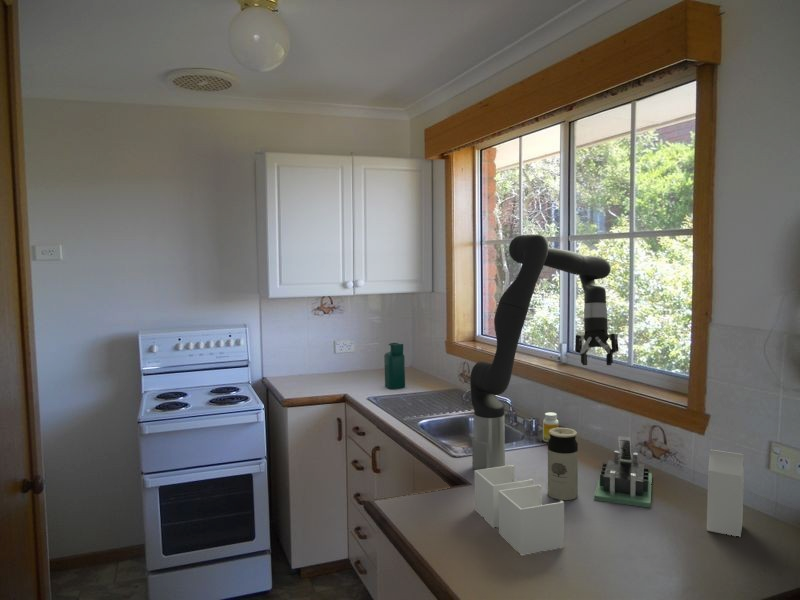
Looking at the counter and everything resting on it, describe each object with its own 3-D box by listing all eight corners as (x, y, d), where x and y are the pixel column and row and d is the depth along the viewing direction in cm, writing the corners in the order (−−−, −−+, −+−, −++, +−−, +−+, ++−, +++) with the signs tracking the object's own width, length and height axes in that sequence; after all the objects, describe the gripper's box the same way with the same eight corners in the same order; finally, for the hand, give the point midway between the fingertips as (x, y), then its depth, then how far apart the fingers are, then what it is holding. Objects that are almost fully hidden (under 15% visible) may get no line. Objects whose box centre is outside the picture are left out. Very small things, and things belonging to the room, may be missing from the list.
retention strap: (620, 460, 178) (620, 456, 179) (631, 461, 177) (631, 458, 178) (618, 439, 166) (618, 436, 167) (629, 440, 165) (630, 437, 166)
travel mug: (557, 486, 173) (557, 425, 172) (583, 494, 168) (583, 431, 166) (542, 495, 168) (542, 431, 166) (568, 503, 162) (568, 438, 161)
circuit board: (650, 507, 159) (650, 503, 159) (594, 499, 164) (594, 495, 164) (651, 477, 179) (651, 473, 179) (601, 471, 184) (601, 467, 184)
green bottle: (383, 386, 300) (382, 342, 298) (399, 384, 303) (398, 340, 301) (391, 390, 291) (390, 345, 289) (407, 388, 294) (406, 343, 292)
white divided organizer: (475, 510, 160) (474, 470, 159) (512, 504, 163) (512, 464, 162) (521, 556, 136) (520, 509, 135) (564, 548, 139) (564, 502, 138)
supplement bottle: (541, 438, 216) (541, 411, 215) (556, 437, 216) (556, 411, 215) (545, 443, 211) (545, 416, 210) (560, 442, 211) (560, 415, 210)
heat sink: (647, 499, 161) (647, 475, 160) (598, 493, 166) (598, 469, 165) (648, 476, 177) (649, 454, 176) (603, 470, 181) (604, 449, 181)
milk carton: (740, 538, 142) (743, 459, 140) (706, 531, 145) (708, 453, 144) (742, 525, 148) (744, 449, 146) (709, 519, 151) (711, 445, 150)
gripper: (570, 317, 208) (571, 365, 206) (611, 315, 199) (612, 365, 197) (581, 319, 214) (582, 365, 212) (620, 316, 204) (622, 365, 202)
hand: (596, 365), depth 204 cm, fingers open, 8 cm apart
